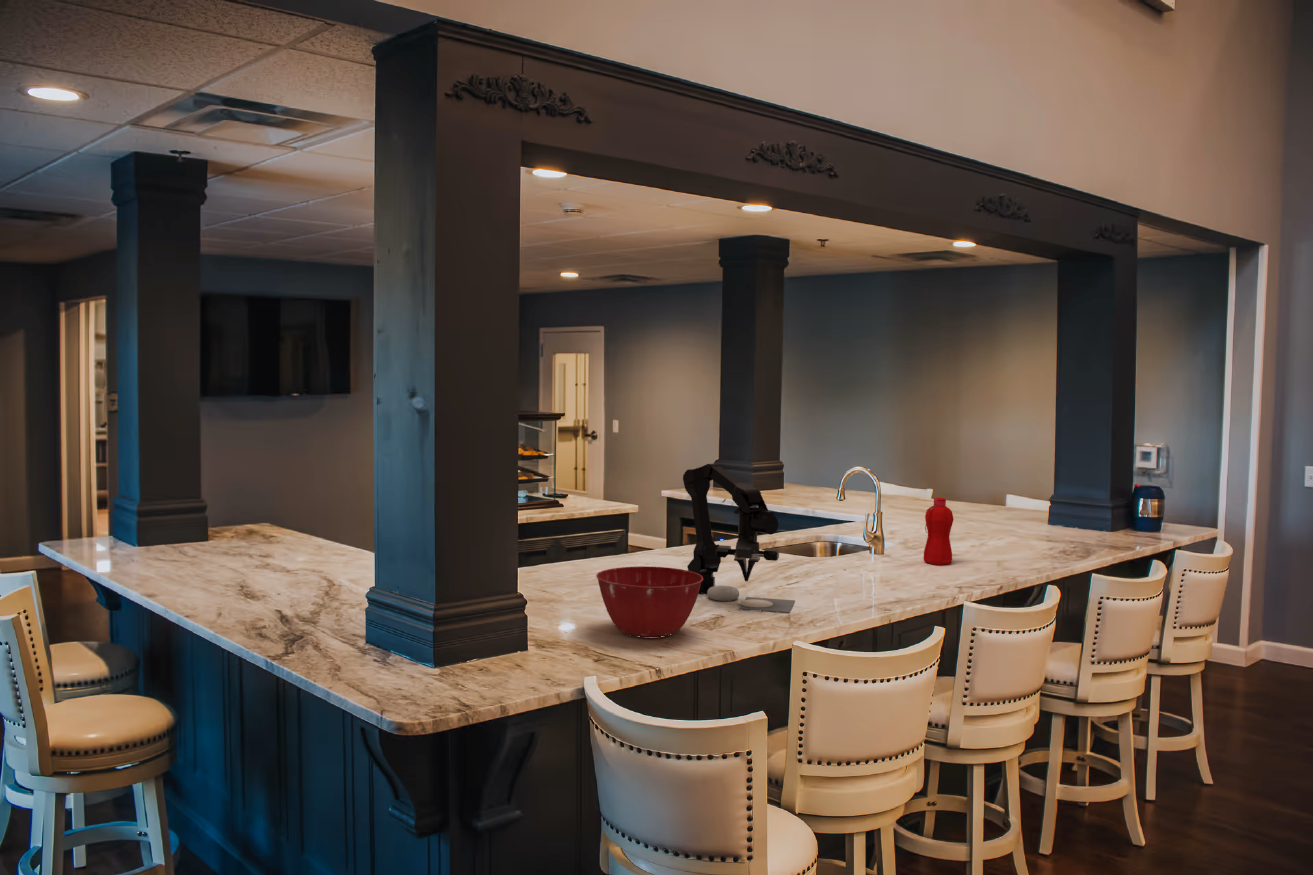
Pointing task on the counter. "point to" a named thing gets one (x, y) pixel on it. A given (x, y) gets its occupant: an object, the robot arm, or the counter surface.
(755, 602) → the kitchen scale
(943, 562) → the water bottle
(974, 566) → the counter surface
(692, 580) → the mixing bowl
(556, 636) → the counter surface
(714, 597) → the donut
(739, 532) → the robot arm
